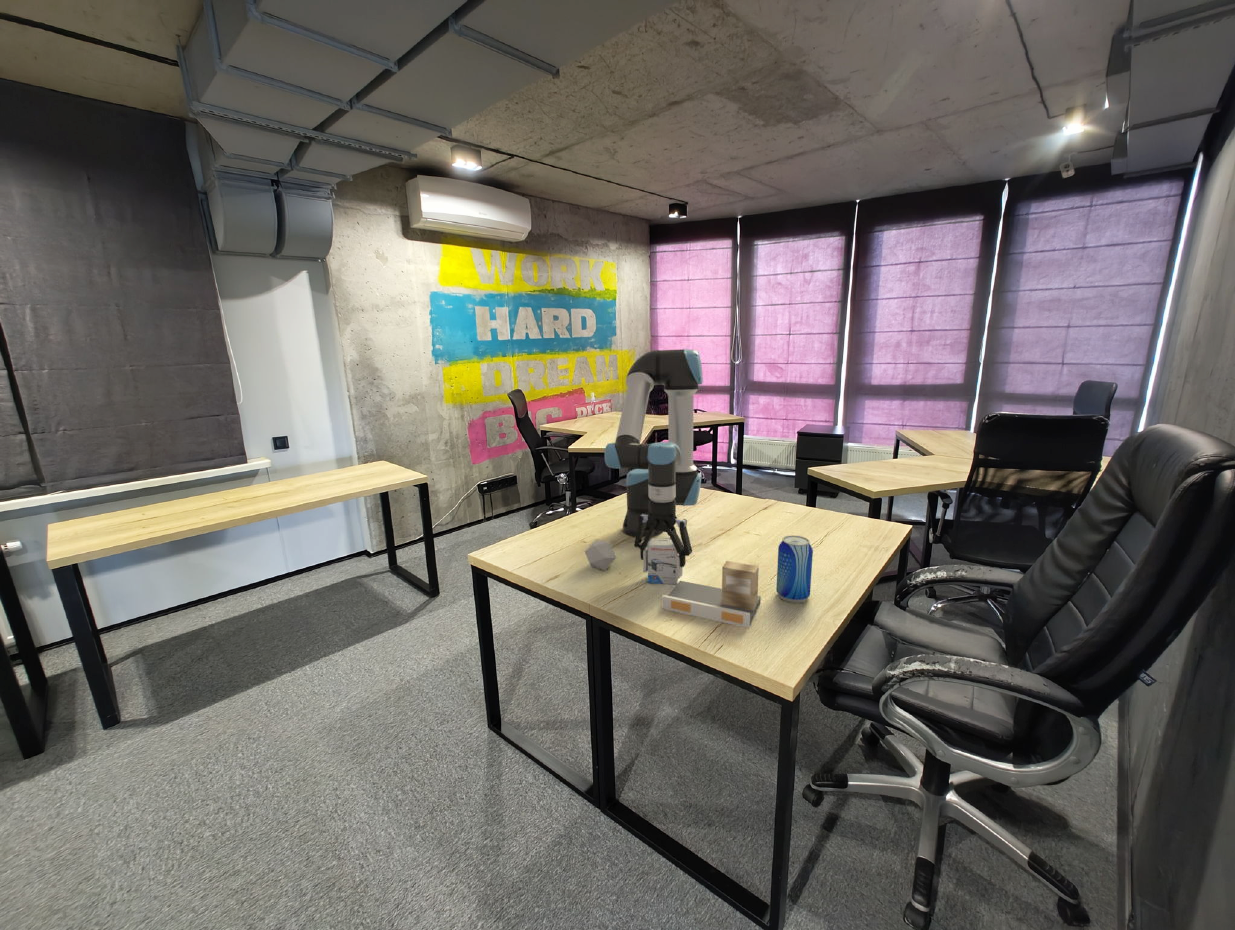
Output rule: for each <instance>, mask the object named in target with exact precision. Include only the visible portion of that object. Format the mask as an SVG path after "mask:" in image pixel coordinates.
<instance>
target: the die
mask: <svg viewBox="0 0 1235 930" xmlns="http://www.w3.org/2000/svg"><path fill="white" fill-rule="evenodd" d="M584 554H585V555H586V558H587V561H588V562H589V565H590V567H591V566H593V567H592V568H595V567H596V568H595V569H598V568H599V570H601V569H602V571H606V570H607V568H608V567H610V565H611V564H612V563H613V562H614V561H615V560H616V558H617V557H616V556H617V555H616V553H615V552H614V549H613V547H612V544H611V542H608V541H605V540H600V539H597V538H596V539H595V540H594V541H593V542H592V543H591V544H590V545H589V546H588V547H587V548H586V549H585V551H584Z"/></svg>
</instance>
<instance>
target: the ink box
mask: <svg viewBox="0 0 1235 930" xmlns="http://www.w3.org/2000/svg"><path fill="white" fill-rule="evenodd" d="M647 548H648V571H647V584H654V585H655V584H658V585H659V584H660V585H677V584H678V582H679V579H677V567H676V557H677V556H678V555H679V554H678V552H677V550H676V548H675V546H674V544H673V542H672V540H671V538H651V539H650V540H649V541H648V545H647Z"/></svg>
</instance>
